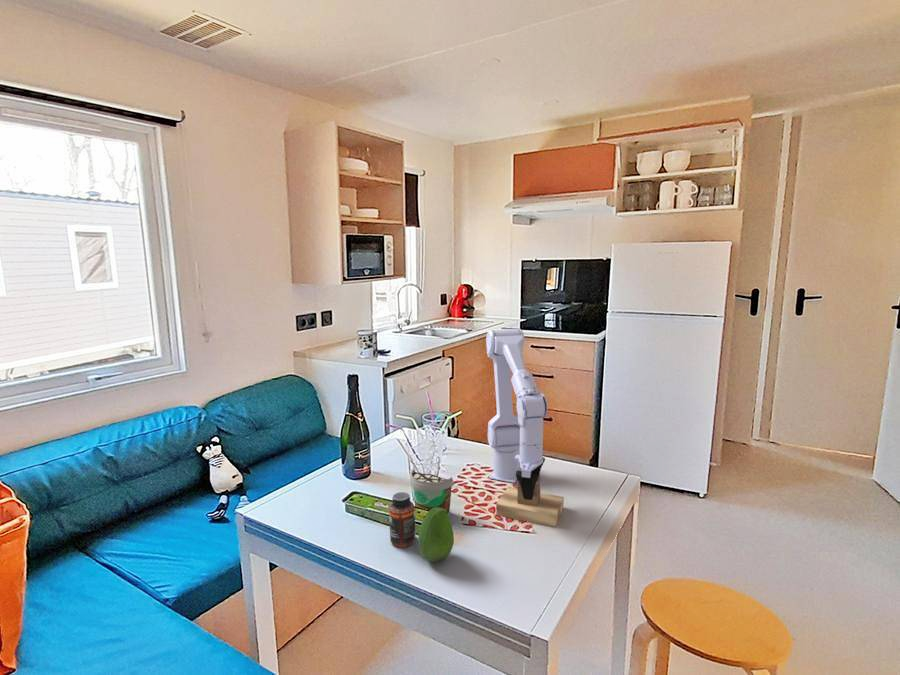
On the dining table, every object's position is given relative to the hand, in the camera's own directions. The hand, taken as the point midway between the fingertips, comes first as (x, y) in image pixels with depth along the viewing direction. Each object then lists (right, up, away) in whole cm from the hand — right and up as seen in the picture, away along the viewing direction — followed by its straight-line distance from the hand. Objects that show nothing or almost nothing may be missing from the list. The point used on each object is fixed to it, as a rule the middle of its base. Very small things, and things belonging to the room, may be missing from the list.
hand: (530, 491), depth 126 cm
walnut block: (0, -2, +1) cm, 2 cm away
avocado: (-24, -9, -18) cm, 31 cm away
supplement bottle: (-32, -8, -11) cm, 34 cm away
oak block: (0, -5, +1) cm, 5 cm away
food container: (-26, -6, +1) cm, 27 cm away
